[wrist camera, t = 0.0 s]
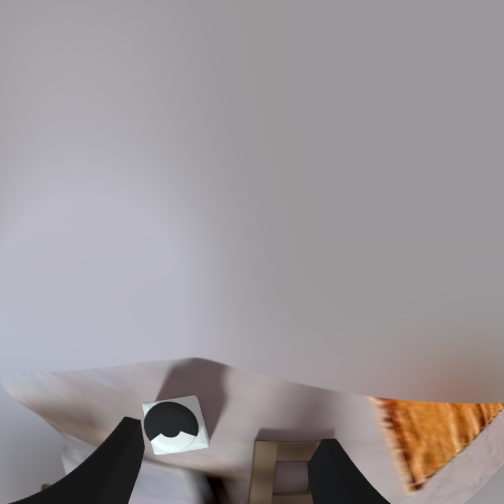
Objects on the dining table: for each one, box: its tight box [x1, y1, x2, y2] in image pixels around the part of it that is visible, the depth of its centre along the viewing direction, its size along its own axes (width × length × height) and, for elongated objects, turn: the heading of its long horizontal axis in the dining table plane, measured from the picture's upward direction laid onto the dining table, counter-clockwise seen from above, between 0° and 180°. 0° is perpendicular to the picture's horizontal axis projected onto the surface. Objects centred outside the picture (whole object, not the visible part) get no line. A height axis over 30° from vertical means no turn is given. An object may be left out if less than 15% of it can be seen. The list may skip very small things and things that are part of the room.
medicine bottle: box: [143, 395, 210, 455], centre depth 30 cm, size 7×7×12 cm
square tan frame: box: [248, 440, 321, 504], centre depth 32 cm, size 12×12×2 cm
